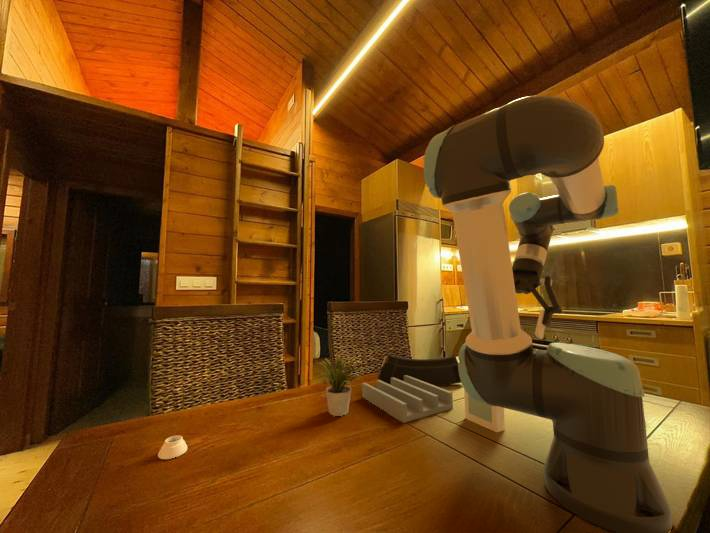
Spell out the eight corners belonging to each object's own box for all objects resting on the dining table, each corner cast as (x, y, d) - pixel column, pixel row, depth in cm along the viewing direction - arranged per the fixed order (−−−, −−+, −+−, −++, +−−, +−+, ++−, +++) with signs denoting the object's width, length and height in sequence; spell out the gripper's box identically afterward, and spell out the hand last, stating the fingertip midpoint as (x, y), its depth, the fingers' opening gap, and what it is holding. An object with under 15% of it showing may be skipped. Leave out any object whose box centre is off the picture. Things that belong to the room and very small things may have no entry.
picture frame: (472, 415, 76) (470, 369, 77) (504, 429, 68) (502, 378, 69) (464, 418, 74) (463, 371, 75) (496, 432, 66) (494, 380, 68)
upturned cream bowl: (176, 445, 61) (152, 457, 57) (177, 431, 61) (153, 442, 57) (192, 450, 59) (168, 463, 54) (193, 436, 59) (169, 447, 55)
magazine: (466, 358, 104) (388, 334, 103) (470, 360, 101) (390, 336, 100) (454, 404, 102) (375, 381, 101) (458, 408, 99) (377, 384, 98)
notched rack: (406, 388, 97) (406, 374, 98) (452, 408, 80) (452, 392, 81) (362, 397, 88) (362, 383, 89) (403, 423, 71) (403, 404, 72)
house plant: (339, 432, 66) (339, 361, 68) (299, 417, 75) (300, 353, 76) (373, 412, 78) (372, 351, 79) (335, 400, 86) (335, 346, 88)
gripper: (586, 269, 73) (571, 347, 66) (492, 270, 93) (474, 329, 87) (576, 254, 69) (559, 334, 63) (481, 258, 90) (461, 319, 83)
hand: (510, 332), depth 75 cm, fingers open, 13 cm apart
